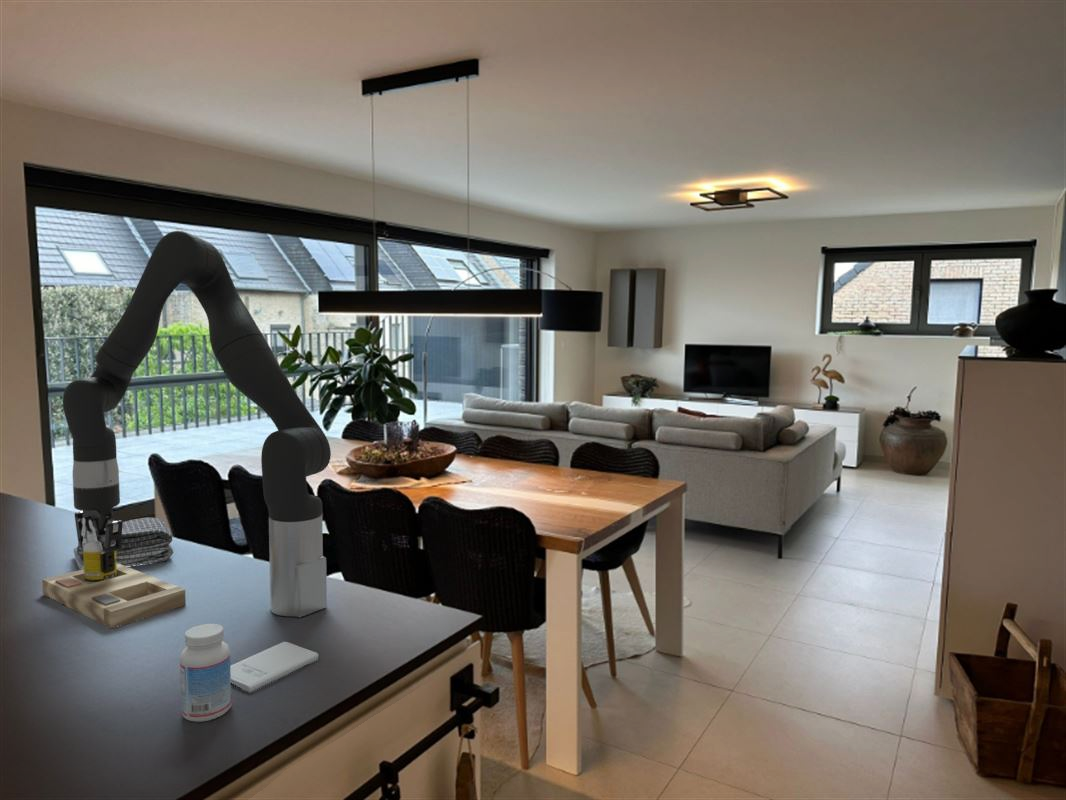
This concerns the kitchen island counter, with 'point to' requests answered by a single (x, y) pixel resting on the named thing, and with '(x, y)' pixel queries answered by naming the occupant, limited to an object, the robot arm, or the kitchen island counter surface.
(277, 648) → the external hard drive
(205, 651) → the pill bottle
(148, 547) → the towel
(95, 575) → the supplement bottle
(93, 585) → the socket holder
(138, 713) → the kitchen island counter surface
